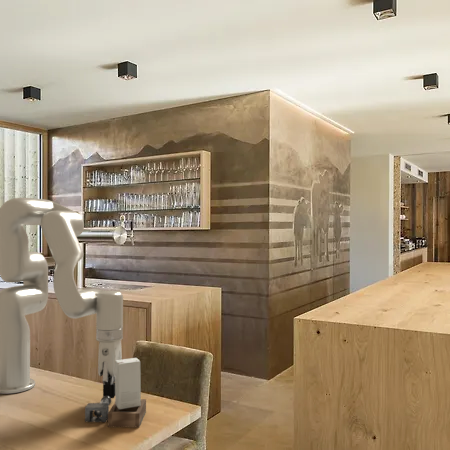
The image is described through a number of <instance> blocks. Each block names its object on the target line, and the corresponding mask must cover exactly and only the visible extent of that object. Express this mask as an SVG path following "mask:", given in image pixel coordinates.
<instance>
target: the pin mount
mask: <svg viewBox="0 0 450 450" xmlns="http://www.w3.org/2000/svg"><path fill="white" fill-rule="evenodd" d="M109 408H110V405H109V403H100V402H99V403H98V402H89V403H87V404H86V406H85V407H84V422H85V423H106V422H108V412H109V411H110V409H109ZM94 411H101V416H99V417H97V416H94Z"/></svg>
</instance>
